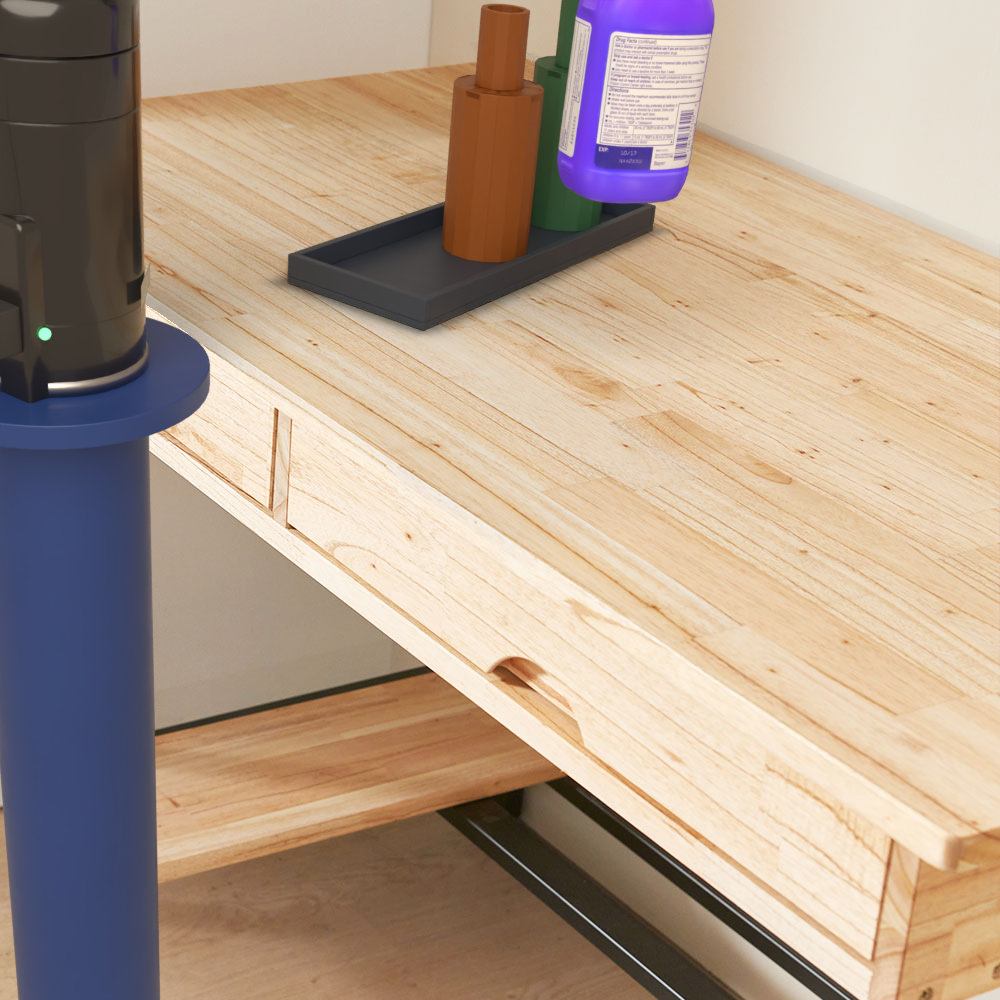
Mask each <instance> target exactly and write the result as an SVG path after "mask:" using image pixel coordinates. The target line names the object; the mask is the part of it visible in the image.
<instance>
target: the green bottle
mask: <svg viewBox="0 0 1000 1000" xmlns="http://www.w3.org/2000/svg"><path fill="white" fill-rule="evenodd" d="M579 1H580V0H561V2H560V11H559V19H558V20H559V21H558V30H557V31H558V32H557V40H556V41H557V42H556V50H555V55H546V56H542V57H538V58H537V59H535V61H534V68H533V78H532V82H535V83H537V84H539V85H541V86H542V88H543V89H544V95H543V105H542V114H541V124H540V134H539V144H538V153H537V163H536V173H535V183H534V192H533V202H532V212H531V222H530V224H531V225H534V226H537V227H540V228H544V229H549V230H555V231H565V232H579V231H584V230H587V229H589V228H592V227H594V226H597V225H599V223H600V218H601V210H602V202H597V201H592V200H589V199H587V198H584V197H582V196H580V195H578V194H576V193H575V192H574V191H572V190H570V189H569V188H567V187H566V186H565V185H564V184H563V182H562V180H561V178H560V175H559V170H558V162H557V156H558V151H559V140H560V132H561V125H562V117H563V109H564V102H565V94H566V87H567V79H568V72H569V64H570V57H571V50H572V42H573V35H574V27H575V19H576V14H577V9H578V4H579Z"/></svg>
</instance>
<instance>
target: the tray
mask: <svg viewBox="0 0 1000 1000" xmlns="http://www.w3.org/2000/svg"><path fill="white" fill-rule="evenodd" d="M444 205H445V200H444V201H442V202H438V203H435V204H432V205H429V206H427V207H424V208H420V209H417V210H415V211H412V212H409V213H406V214H403V215H399V216H397V217H394V218H391V219H388V220H384V221H382V222H379V223H377V224H373V225H370V226H367V227H364V228H362V229H361V228H360V229H359V230H356V231H353V232H349V233H347V234H343V235H341V236H337V237H335V238H332V239H329V240H326V241H322V242H321V243H317V244H314V245H311V246H308V247H305V248H302V249H299V250H296V251H294V252H290V253H288V254H287V280H286V281H287V284H289V285H293V286H295V287H299V288H300V289H301V288H302V289H305V290H307V291H310V292H313V293H315V294H318V295H321V296H324V297H327V298H329V299H333V300H335V301H339V302H341V303H344V304H346V305H349V306H353V307H355V308H358V309H361V310H364V311H366V312H369V313H372V314H375V315H378V316H381V317H383V318H387V319H389V320H392V321H395V322H398V323H400V324H403V325H406V326H408V327H411V328H415V329H418V330H419V331H426V330H428V329H430V328H432V327H435V326H436V325H439V324H441V323H444V322H447V321H449V320H451V319H454V318H455V317H458V316H460V315H462V314H464V313H467V312H469V311H472V310H474V309H476V308H478V307H481V306H483V305H485V304H487V303H490V302H492V301H494V300H497V299H499V298H501V297H503V296H506V295H508V294H510V293H513V292H515V291H518V290H520V289H521V288H525V287H526V286H529V285H531V284H533V283H536V282H538V281H540V280H543V279H545V278H548V277H549V276H552V275H554V274H556V273H558V272H561V271H563V270H566V269H567V268H570V267H572V266H574V265H577V264H579V263H581V262H584V261H586V260H589V259H591V258H593V257H595V256H597V255H599V254H602V253H605V252H607V251H609V250H611V249H613V248H616V247H618V246H621V245H622V244H625V243H627V242H630V241H632V240H634V239H637V238H639V237H641V236H643V235H645V234H648V233H650V232H652V231H653V230H654V224H655V223H654V222H655V215H656V209H657V205H655V204H653V203H626V204H620V203H604V202H602V210H601V218H600V223H599V225H597V226H594V227H592V228H589V229H587V230H584V231H579V232H565V231H555V230H549V229H544V228H540V227H537V226H534V225H531V224H530V231H529V241H528V251H527V253H526V255H523V256H521V257H518V258H516V259H513V260H511V261H509V262H502V263H492V262H478V261H472V260H466V259H463V258H460V257H457V256H454V255H452V254H450V253H449V252H447V251H445V250H444V248H443V246H442V232H443V219H444Z"/></svg>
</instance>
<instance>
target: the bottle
mask: <svg viewBox="0 0 1000 1000" xmlns="http://www.w3.org/2000/svg"><path fill="white" fill-rule="evenodd" d="M715 16H716V15H715V8H714V1H713V0H580V1H579V4H578V9H577V14H576V19H575V27H574V35H573V42H572V50H571V57H570V64H569V72H568V79H567V87H566V94H565V102H564V109H563V117H562V125H561V132H560V140H559V151H558V156H557V162H558V170H559V175H560V178H561V180H562V182H563V184H564V185H565V186H566V187H567V188H569V189H570V190H572V191H574V192H575V193H576V194H578V195H580V196H582V197H584V198H587V199H589V200H592V201H597V202H604V203H620V204H626V203H649V204H655V203H664V202H665V203H666V202H669V201H672V200H675V199H676V198H677V197H678V196H679V194H680V192H681V191H682V189H683V187H684V185H685V183H686V181H687V179H688V174H689V170H690V169H689V168H690V163H691V158H692V154H693V146H694V139H695V134H696V127H697V122H698V117H699V112H700V105H701V99H702V94H703V89H704V85H705V77H706V72H707V66H708V62H709V61H708V60H709V54H710V47H711V43H712V38H713V32H714V28H715V18H716V17H715Z"/></svg>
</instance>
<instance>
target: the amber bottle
mask: <svg viewBox="0 0 1000 1000" xmlns="http://www.w3.org/2000/svg"><path fill="white" fill-rule="evenodd" d="M530 18H531V10H530V9H529V8H526V7H524V6H519V5H515V4H508V3H507V4H506V3H486V4H482V5H481V7H480V17H479V26H478V27H479V28H478V40H477V41H478V42H477V54H476V67H475V74H466V75H462V76H458V77H456V79H455V80H453V88H452V99H451V100H452V101H451V103H452V104H451V112H450V113H451V114H450V127H449V140H448V155H447V166H446V180H445V181H446V182H445V194H444V201H445V205H444V219H443V232H442V246H443V248H444V250H445V251H447V252H449V253H450V254H452V255H454V256H457V257H460V258H463V259H466V260H472V261H478V262H492V263H502V262H509V261H511V260H513V259H516V258H518V257H521V256H523V255H526V253H527V251H528V241H529V231H530V222H531V212H532V202H533V192H534V183H535V173H536V163H537V153H538V144H539V134H540V124H541V114H542V105H543V95H544V89H543V88H542V86H541V85H539V84H537V83H535V82H533V80H529V79H525V70H526V69H525V68H526V58H527V49H528V38H529V27H530Z"/></svg>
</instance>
